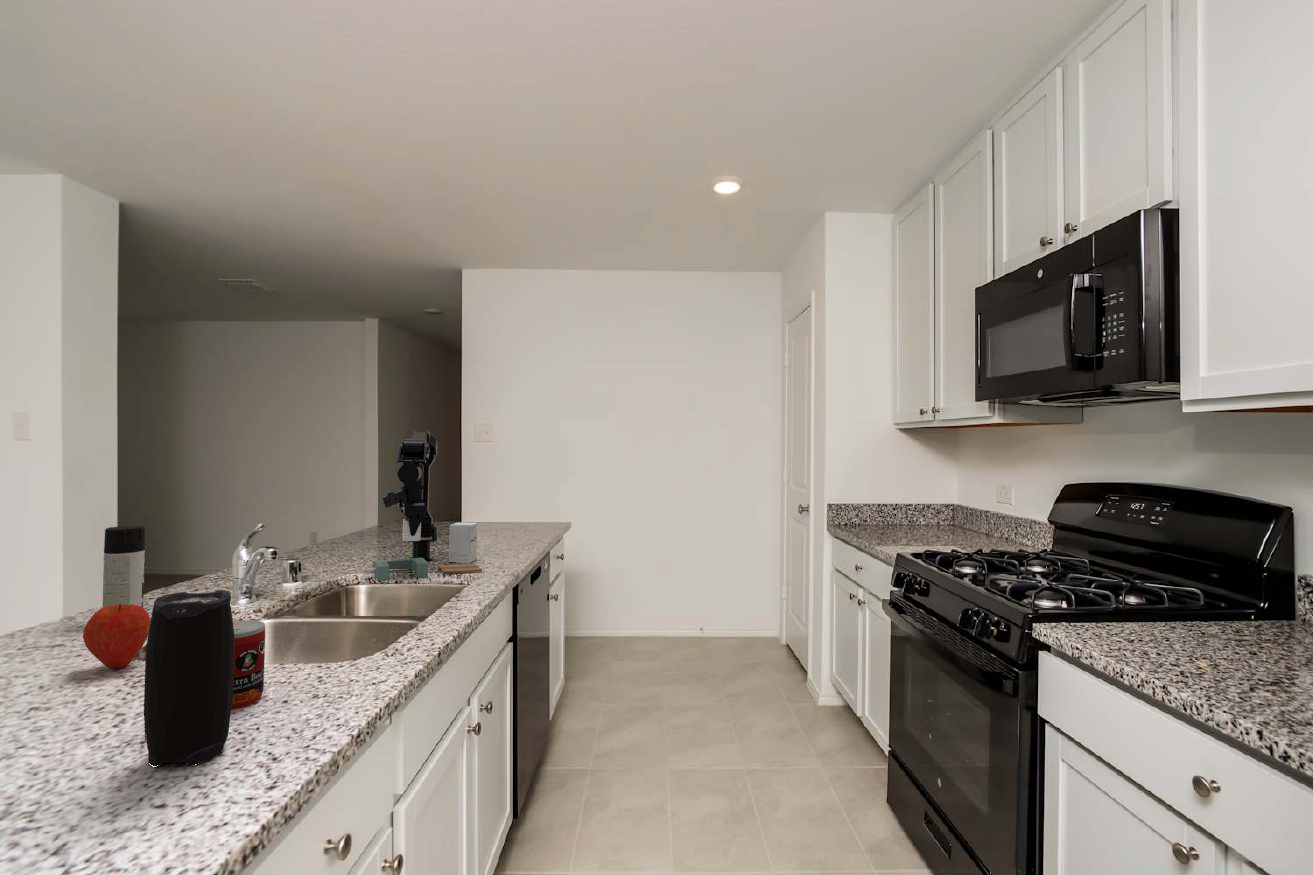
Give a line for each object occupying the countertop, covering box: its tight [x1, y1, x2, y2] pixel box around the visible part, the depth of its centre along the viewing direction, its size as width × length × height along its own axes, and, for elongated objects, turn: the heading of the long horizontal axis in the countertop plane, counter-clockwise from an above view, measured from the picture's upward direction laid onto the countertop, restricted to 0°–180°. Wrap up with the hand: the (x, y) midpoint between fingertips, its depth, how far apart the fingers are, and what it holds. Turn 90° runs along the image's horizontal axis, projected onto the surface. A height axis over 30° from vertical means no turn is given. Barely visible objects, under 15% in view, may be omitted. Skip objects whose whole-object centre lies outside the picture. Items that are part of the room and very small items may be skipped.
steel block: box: [402, 518, 421, 542], centre depth 186 cm, size 4×4×6 cm
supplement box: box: [448, 522, 478, 564], centre depth 208 cm, size 7×7×13 cm
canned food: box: [231, 619, 266, 711], centre depth 94 cm, size 8×8×11 cm
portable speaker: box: [143, 589, 235, 766], centre depth 78 cm, size 9×9×20 cm
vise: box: [365, 558, 429, 582], centre depth 186 cm, size 15×16×4 cm
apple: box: [82, 604, 151, 669], centre depth 106 cm, size 9×8×11 cm
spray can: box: [102, 525, 146, 608], centre depth 133 cm, size 7×7×20 cm
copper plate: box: [437, 562, 483, 576], centre depth 193 cm, size 11×11×1 cm
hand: (411, 534), depth 186 cm, fingers closed on steel block, 4 cm apart
